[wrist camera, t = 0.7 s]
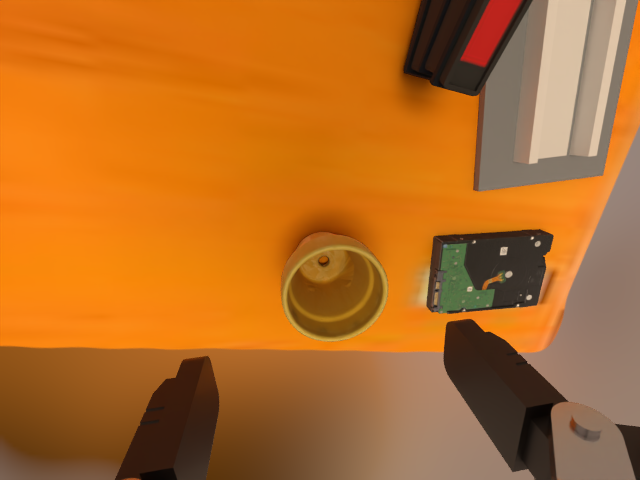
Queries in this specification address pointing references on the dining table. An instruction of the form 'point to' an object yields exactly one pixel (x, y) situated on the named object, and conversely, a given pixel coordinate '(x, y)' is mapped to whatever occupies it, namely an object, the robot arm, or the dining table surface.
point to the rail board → (553, 94)
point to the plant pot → (333, 287)
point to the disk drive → (487, 270)
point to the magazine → (462, 41)
